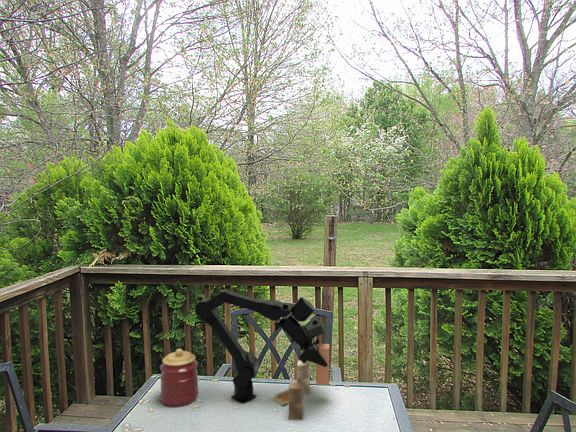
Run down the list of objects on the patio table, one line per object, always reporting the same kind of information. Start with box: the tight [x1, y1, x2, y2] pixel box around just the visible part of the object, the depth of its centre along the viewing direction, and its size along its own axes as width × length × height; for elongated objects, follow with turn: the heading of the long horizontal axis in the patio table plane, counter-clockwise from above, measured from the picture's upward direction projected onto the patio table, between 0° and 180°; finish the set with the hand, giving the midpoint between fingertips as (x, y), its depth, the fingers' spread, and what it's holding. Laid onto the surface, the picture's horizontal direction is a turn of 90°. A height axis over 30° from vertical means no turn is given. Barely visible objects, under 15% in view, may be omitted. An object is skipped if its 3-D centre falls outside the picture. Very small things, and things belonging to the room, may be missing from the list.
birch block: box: [296, 360, 311, 394], centre depth 144 cm, size 4×4×10 cm
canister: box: [159, 348, 199, 407], centre depth 138 cm, size 13×13×18 cm
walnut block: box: [288, 381, 305, 421], centre depth 126 cm, size 4×4×10 cm
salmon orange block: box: [315, 343, 330, 386], centre depth 135 cm, size 4×4×12 cm
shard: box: [271, 389, 289, 407], centre depth 138 cm, size 11×8×2 cm
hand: (326, 363), depth 135 cm, fingers closed on salmon orange block, 4 cm apart
